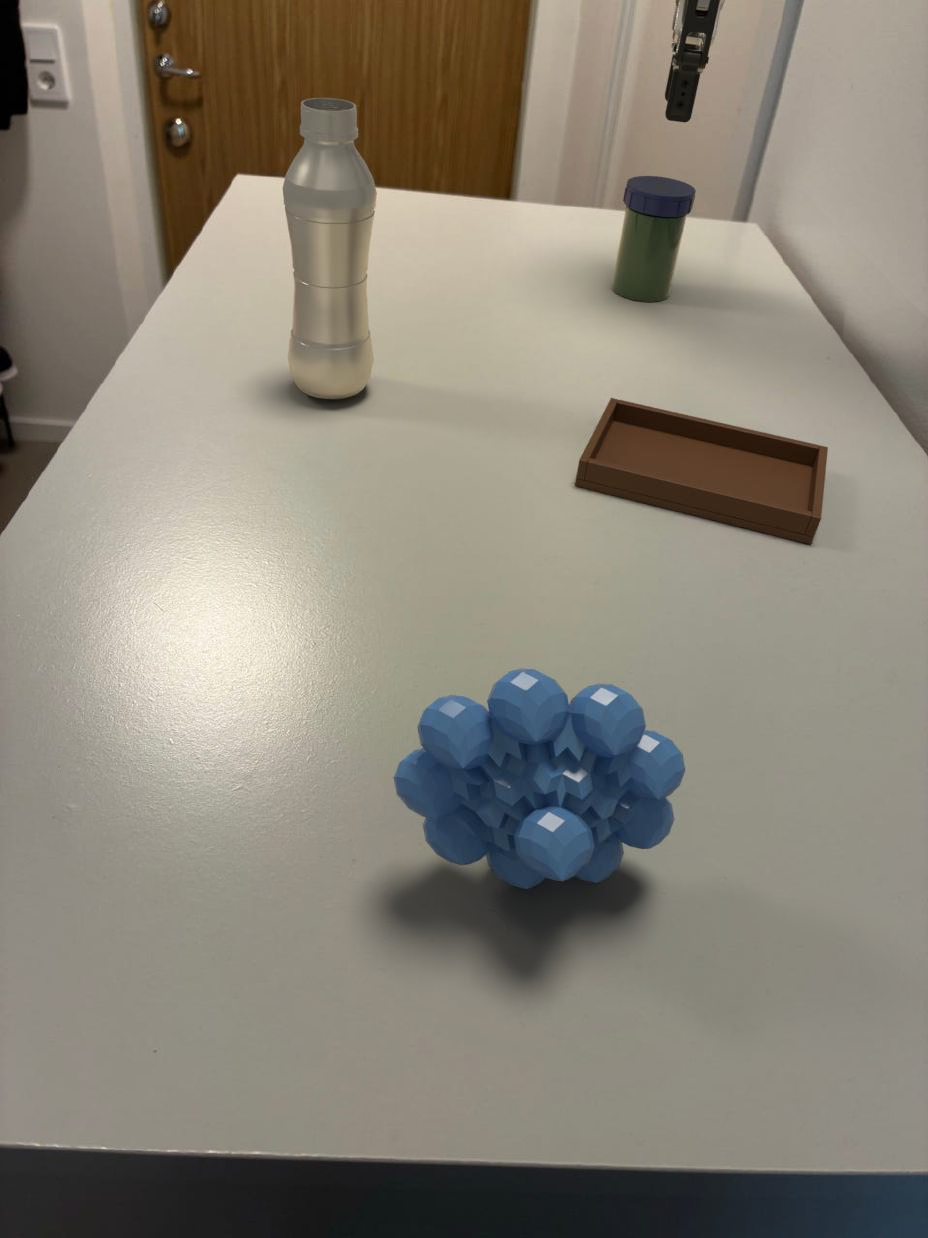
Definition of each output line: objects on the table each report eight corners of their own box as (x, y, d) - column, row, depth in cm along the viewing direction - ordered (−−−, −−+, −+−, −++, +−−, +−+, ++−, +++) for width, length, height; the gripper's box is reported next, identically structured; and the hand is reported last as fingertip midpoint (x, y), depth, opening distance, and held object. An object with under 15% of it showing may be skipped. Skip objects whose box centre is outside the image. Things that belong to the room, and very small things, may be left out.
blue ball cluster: (392, 975, 37) (404, 773, 29) (387, 833, 42) (396, 629, 35) (679, 962, 39) (762, 766, 31) (640, 826, 44) (703, 629, 36)
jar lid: (695, 202, 92) (700, 183, 91) (685, 221, 87) (690, 200, 86) (630, 191, 93) (634, 171, 92) (617, 208, 88) (620, 188, 87)
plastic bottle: (274, 399, 72) (258, 106, 59) (311, 364, 77) (304, 87, 64) (353, 417, 71) (355, 122, 58) (385, 380, 76) (393, 102, 63)
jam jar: (673, 286, 97) (695, 188, 91) (663, 306, 93) (685, 205, 87) (618, 275, 98) (636, 178, 92) (606, 294, 94) (623, 193, 88)
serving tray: (818, 471, 70) (828, 446, 69) (811, 544, 63) (821, 518, 61) (606, 422, 74) (610, 397, 72) (574, 485, 66) (579, 459, 65)
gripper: (781, -113, 69) (722, 135, 79) (764, -119, 80) (714, 99, 90) (677, -125, 69) (632, 123, 80) (675, -129, 80) (635, 89, 91)
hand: (676, 110), depth 85 cm, fingers open, 7 cm apart
